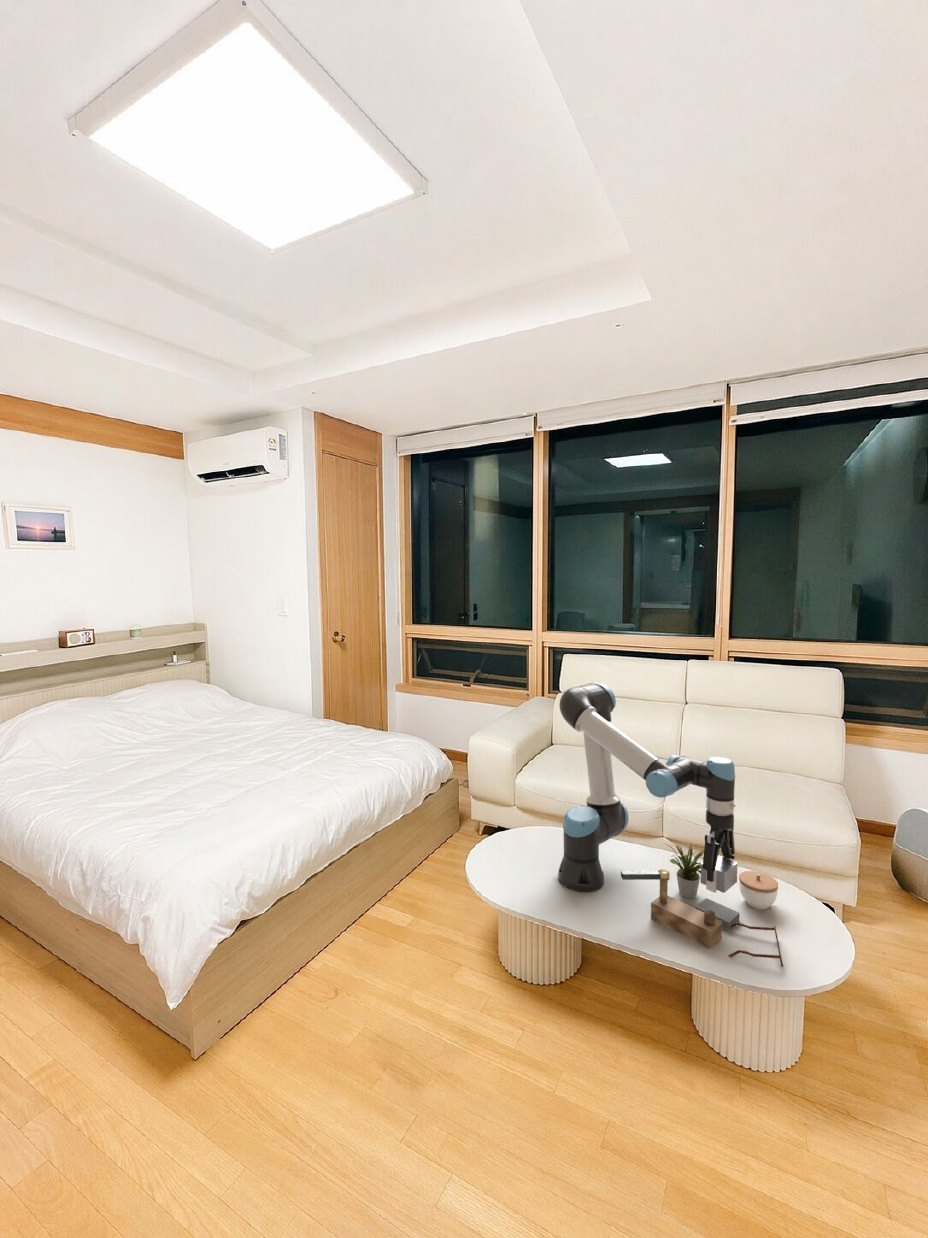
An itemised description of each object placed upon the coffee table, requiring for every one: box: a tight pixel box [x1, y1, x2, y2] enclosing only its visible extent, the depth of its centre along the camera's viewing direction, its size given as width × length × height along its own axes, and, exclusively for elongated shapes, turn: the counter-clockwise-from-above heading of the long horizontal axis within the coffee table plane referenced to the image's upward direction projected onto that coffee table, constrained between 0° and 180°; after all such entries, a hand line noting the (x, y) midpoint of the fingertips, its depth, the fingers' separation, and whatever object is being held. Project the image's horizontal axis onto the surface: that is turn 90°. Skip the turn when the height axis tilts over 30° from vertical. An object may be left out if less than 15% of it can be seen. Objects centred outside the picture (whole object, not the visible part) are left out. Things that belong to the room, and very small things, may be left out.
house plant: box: [664, 843, 704, 899], centre depth 177 cm, size 14×14×16 cm
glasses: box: [727, 922, 784, 966], centre depth 152 cm, size 13×13×5 cm
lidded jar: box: [738, 870, 779, 910], centre depth 172 cm, size 11×11×9 cm
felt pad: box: [694, 898, 741, 932], centre depth 165 cm, size 10×7×2 cm
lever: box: [620, 868, 671, 881], centre depth 165 cm, size 14×3×2 cm, turn 89°
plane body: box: [650, 880, 723, 950], centre depth 160 cm, size 18×7×12 cm, turn 41°
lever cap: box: [700, 855, 738, 893], centre depth 164 cm, size 7×8×6 cm
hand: (718, 884), depth 164 cm, fingers closed on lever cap, 8 cm apart
